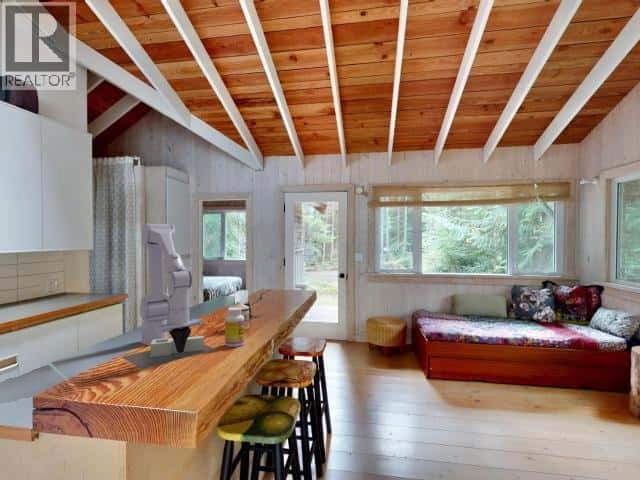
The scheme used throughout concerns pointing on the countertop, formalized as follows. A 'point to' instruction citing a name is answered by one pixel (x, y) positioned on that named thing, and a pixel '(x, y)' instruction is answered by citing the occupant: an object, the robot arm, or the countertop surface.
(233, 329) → the supplement bottle
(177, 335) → the robot arm
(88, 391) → the countertop surface
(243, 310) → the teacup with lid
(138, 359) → the base plate
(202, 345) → the link
